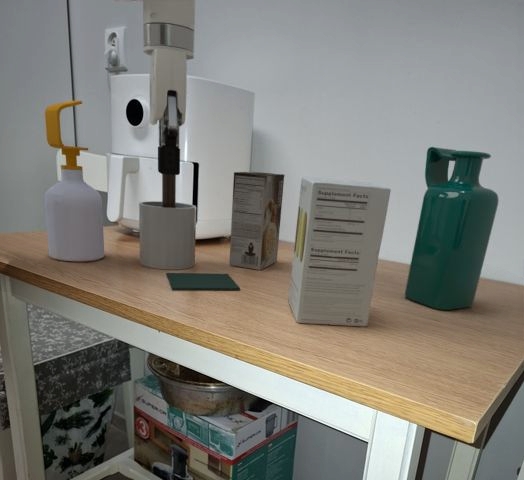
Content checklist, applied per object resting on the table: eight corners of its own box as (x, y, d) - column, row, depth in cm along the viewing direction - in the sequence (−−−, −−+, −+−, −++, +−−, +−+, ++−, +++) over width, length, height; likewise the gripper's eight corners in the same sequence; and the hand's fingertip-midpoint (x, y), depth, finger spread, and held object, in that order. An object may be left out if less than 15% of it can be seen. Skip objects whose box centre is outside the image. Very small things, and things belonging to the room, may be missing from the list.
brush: (154, 233, 80) (153, 135, 75) (152, 228, 85) (151, 135, 79) (186, 234, 82) (187, 138, 76) (182, 229, 86) (183, 138, 81)
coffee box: (247, 257, 96) (252, 171, 90) (277, 262, 94) (285, 174, 88) (227, 265, 88) (233, 171, 82) (261, 270, 86) (268, 174, 80)
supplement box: (286, 301, 69) (299, 176, 62) (350, 305, 70) (369, 181, 63) (296, 324, 60) (312, 180, 54) (368, 327, 61) (393, 186, 55)
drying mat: (172, 290, 70) (172, 287, 69) (166, 275, 78) (166, 272, 77) (240, 290, 72) (240, 288, 72) (227, 275, 80) (227, 273, 80)
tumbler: (141, 269, 80) (140, 206, 76) (138, 257, 88) (137, 200, 84) (198, 270, 83) (200, 209, 79) (190, 258, 91) (191, 203, 87)
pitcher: (478, 307, 74) (517, 152, 66) (442, 312, 70) (479, 148, 62) (427, 290, 82) (457, 150, 74) (392, 294, 78) (419, 145, 69)
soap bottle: (114, 259, 85) (109, 103, 76) (64, 264, 79) (52, 94, 70) (88, 249, 91) (80, 103, 81) (39, 254, 84) (25, 95, 75)
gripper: (140, 49, 79) (142, 169, 86) (146, 29, 65) (148, 175, 72) (186, 55, 81) (185, 172, 88) (202, 37, 67) (198, 178, 74)
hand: (168, 172), depth 80 cm, fingers closed on brush
